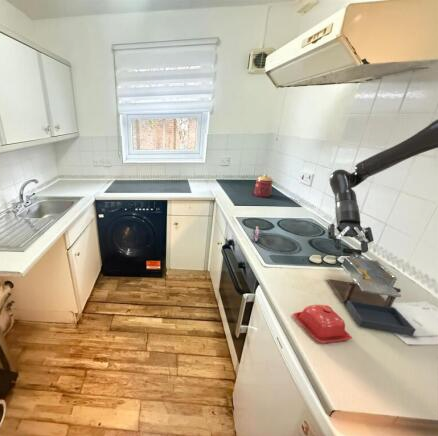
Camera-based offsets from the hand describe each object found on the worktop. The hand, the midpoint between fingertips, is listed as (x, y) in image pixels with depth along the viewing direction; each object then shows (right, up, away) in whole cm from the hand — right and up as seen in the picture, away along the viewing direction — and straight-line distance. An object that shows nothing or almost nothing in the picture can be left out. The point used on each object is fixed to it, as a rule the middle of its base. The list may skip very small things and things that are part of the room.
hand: (351, 250), depth 93 cm
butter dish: (-27, -21, -20) cm, 40 cm away
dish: (-3, -7, -8) cm, 11 cm away
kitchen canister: (+17, +32, +107) cm, 113 cm away
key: (-3, -7, -10) cm, 12 cm away
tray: (-7, -20, -17) cm, 27 cm away
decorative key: (-20, +3, +38) cm, 43 cm away
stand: (-3, -15, -6) cm, 17 cm away
